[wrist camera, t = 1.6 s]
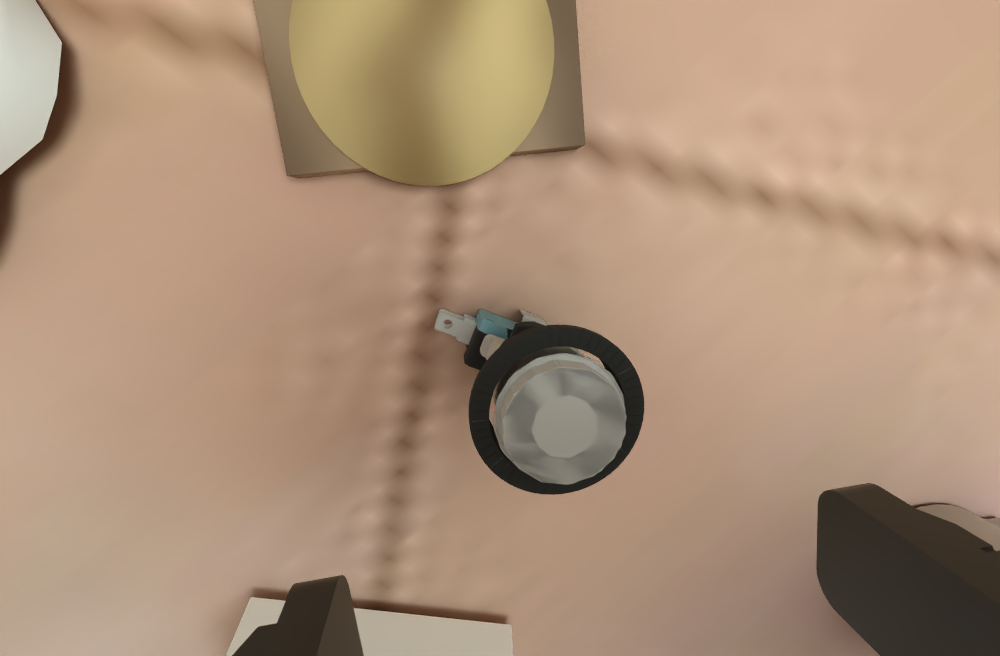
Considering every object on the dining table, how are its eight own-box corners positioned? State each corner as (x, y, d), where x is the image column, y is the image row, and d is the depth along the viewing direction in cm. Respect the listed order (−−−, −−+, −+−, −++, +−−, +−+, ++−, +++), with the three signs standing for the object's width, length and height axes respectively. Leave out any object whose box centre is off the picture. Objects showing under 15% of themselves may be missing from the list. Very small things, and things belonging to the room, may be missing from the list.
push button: (418, 364, 24) (397, 467, 14) (459, 257, 23) (466, 288, 13) (548, 410, 25) (610, 533, 15) (591, 309, 24) (687, 373, 15)
